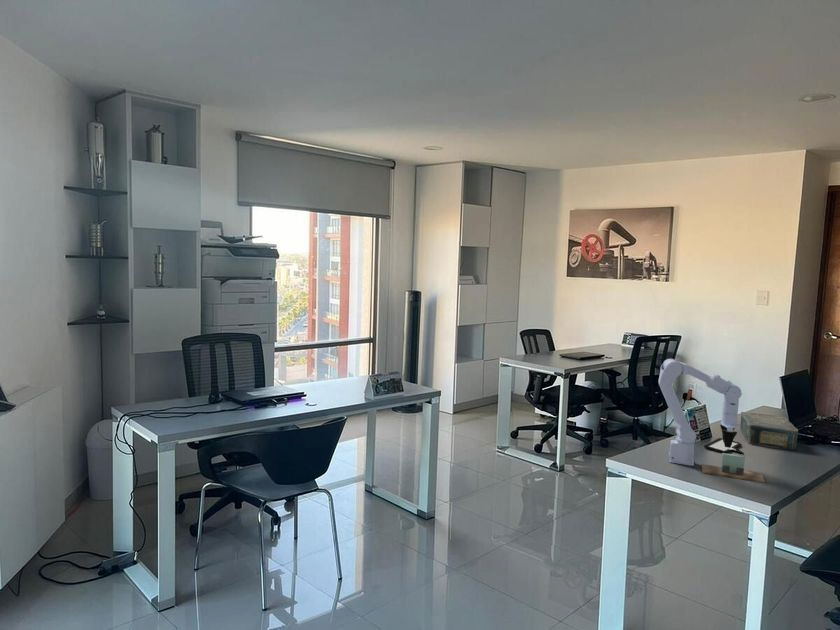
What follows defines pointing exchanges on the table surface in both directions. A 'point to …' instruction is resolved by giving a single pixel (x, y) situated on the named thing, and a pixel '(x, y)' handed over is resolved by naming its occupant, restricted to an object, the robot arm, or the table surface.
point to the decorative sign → (723, 446)
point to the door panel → (732, 462)
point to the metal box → (768, 430)
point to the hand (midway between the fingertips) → (726, 444)
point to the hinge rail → (739, 473)
